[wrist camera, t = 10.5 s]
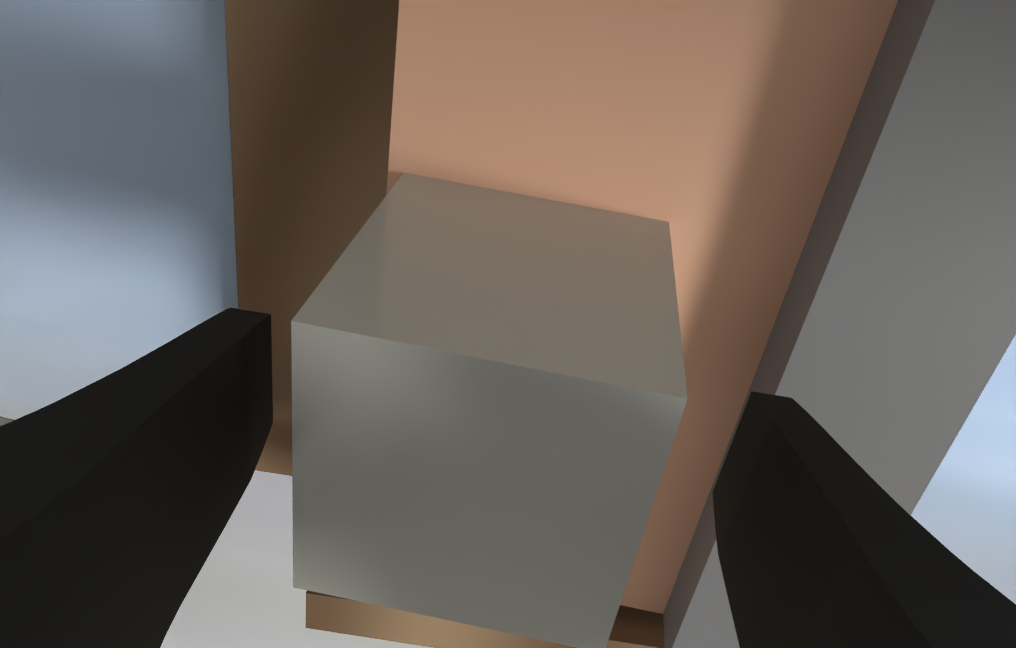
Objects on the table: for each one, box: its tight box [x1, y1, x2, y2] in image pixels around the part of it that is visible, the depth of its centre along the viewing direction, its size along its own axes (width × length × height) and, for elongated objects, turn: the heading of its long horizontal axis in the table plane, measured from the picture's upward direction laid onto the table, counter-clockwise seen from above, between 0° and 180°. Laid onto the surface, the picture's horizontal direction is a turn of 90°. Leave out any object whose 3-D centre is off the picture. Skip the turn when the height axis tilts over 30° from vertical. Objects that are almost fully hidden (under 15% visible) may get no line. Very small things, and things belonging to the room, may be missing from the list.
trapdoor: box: [386, 0, 1016, 648], centre depth 14 cm, size 10×14×3 cm
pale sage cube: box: [291, 173, 688, 648], centre depth 12 cm, size 4×4×5 cm
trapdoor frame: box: [225, 0, 664, 648], centre depth 16 cm, size 18×19×6 cm
